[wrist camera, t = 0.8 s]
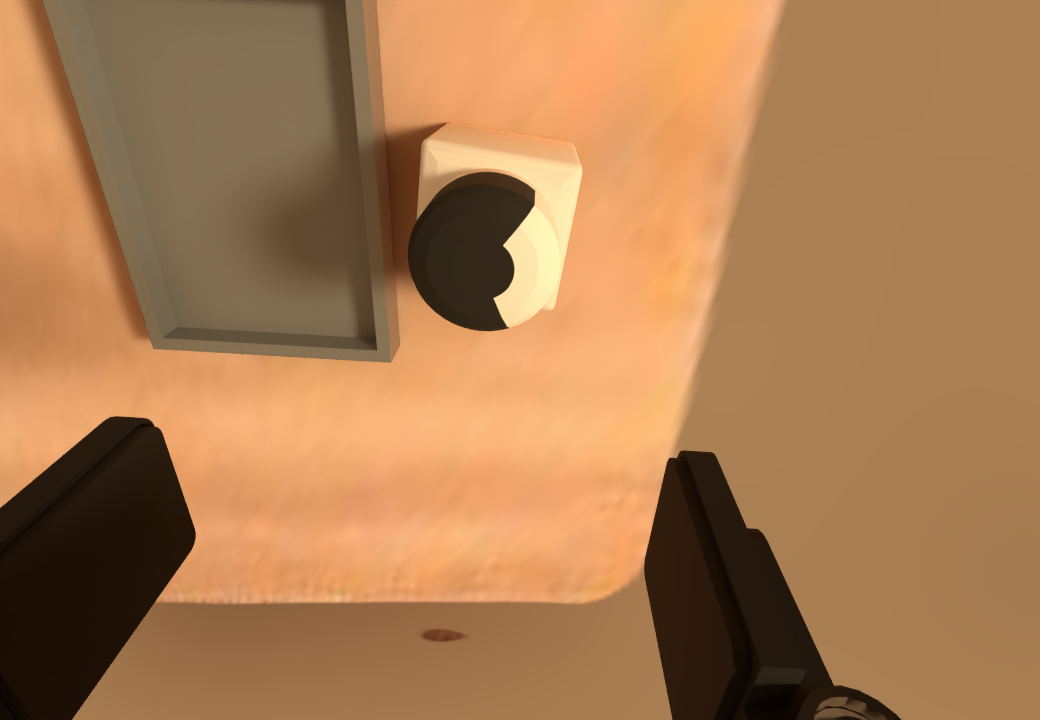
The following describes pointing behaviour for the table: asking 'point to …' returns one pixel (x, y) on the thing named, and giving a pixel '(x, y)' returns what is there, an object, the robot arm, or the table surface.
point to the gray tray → (242, 168)
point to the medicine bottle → (492, 224)
